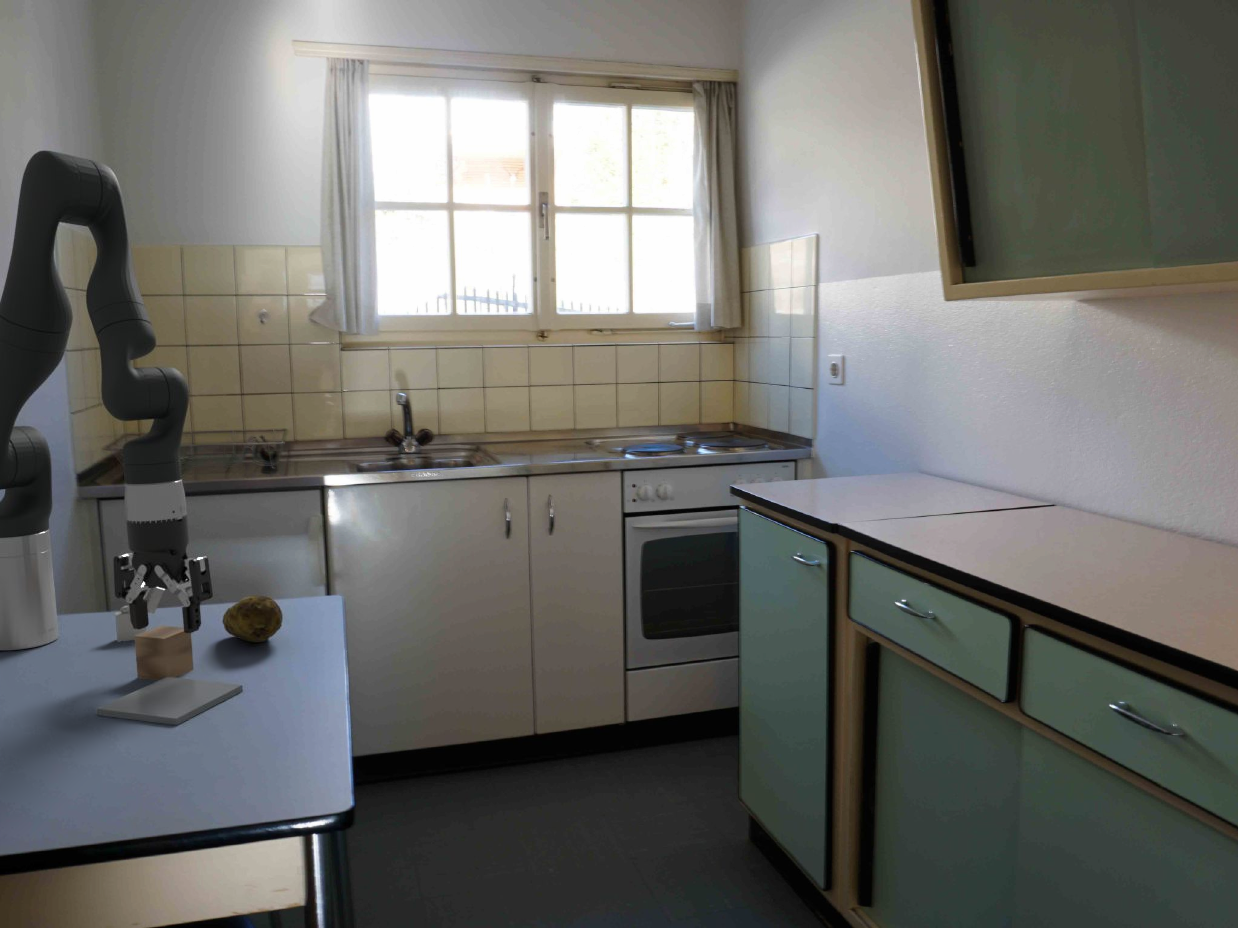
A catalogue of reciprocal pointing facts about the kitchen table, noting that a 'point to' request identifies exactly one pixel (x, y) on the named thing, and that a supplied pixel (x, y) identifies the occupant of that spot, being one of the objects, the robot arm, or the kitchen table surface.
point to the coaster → (170, 700)
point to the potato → (253, 618)
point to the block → (163, 653)
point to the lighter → (124, 623)
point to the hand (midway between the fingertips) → (166, 629)
